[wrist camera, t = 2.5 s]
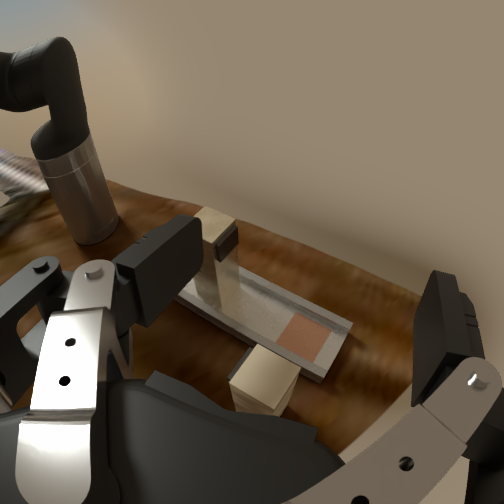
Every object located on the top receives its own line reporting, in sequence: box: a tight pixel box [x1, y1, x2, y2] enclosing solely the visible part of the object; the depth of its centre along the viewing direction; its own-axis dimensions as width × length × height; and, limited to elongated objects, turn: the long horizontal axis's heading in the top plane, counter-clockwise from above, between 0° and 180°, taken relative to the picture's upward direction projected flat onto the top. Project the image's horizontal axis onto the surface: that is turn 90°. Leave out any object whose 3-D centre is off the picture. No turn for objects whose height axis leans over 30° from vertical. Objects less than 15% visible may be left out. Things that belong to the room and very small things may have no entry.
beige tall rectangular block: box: [227, 344, 301, 417], centre depth 28 cm, size 4×4×12 cm
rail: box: [174, 206, 353, 384], centre depth 36 cm, size 22×8×13 cm, turn 57°
